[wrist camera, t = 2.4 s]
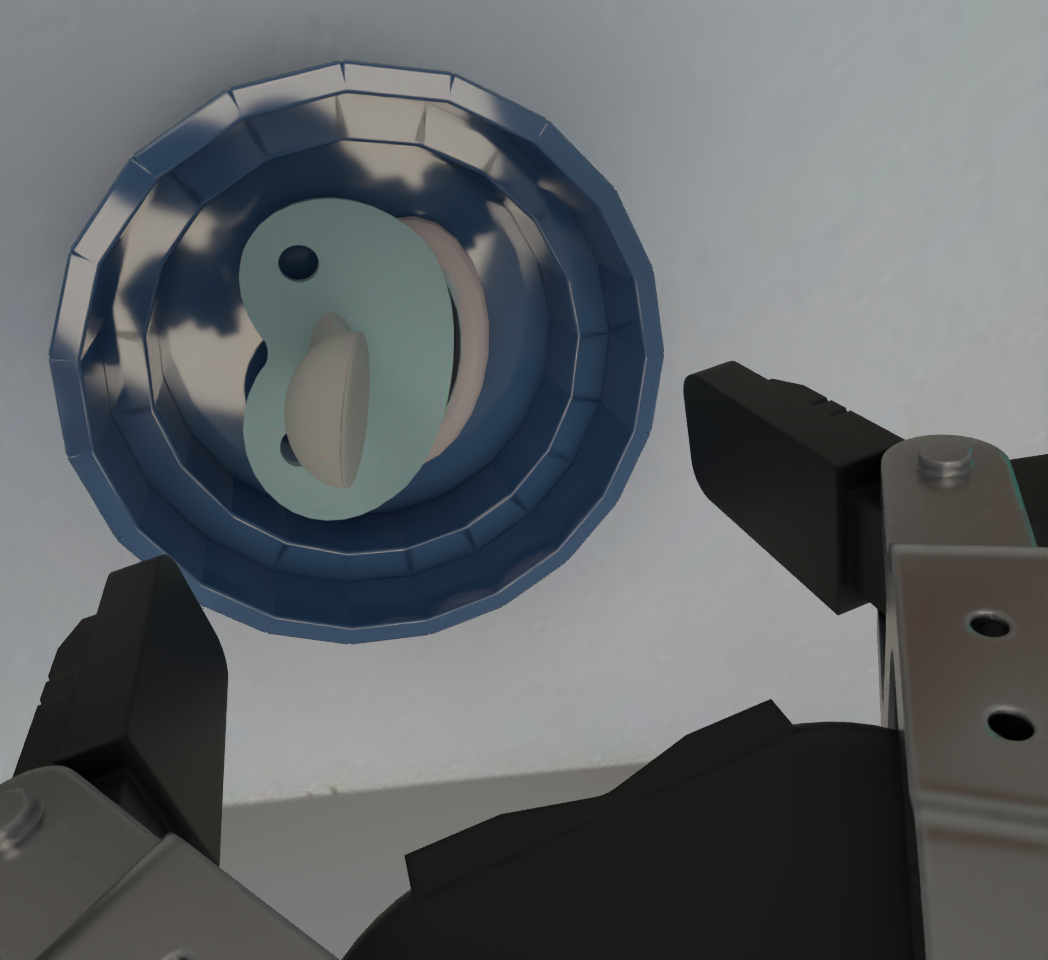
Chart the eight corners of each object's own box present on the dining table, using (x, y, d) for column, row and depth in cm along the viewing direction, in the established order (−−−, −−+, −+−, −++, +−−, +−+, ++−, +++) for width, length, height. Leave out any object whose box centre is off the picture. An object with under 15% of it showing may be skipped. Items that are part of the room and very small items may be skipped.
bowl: (225, 606, 22) (220, 716, 18) (-19, 150, 16) (-106, 171, 12) (617, 463, 24) (688, 535, 20) (538, 11, 18) (618, -10, 14)
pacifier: (495, 202, 19) (234, 177, 17) (603, 248, 14) (242, 218, 11) (468, 473, 22) (243, 481, 20) (548, 596, 17) (253, 625, 14)
